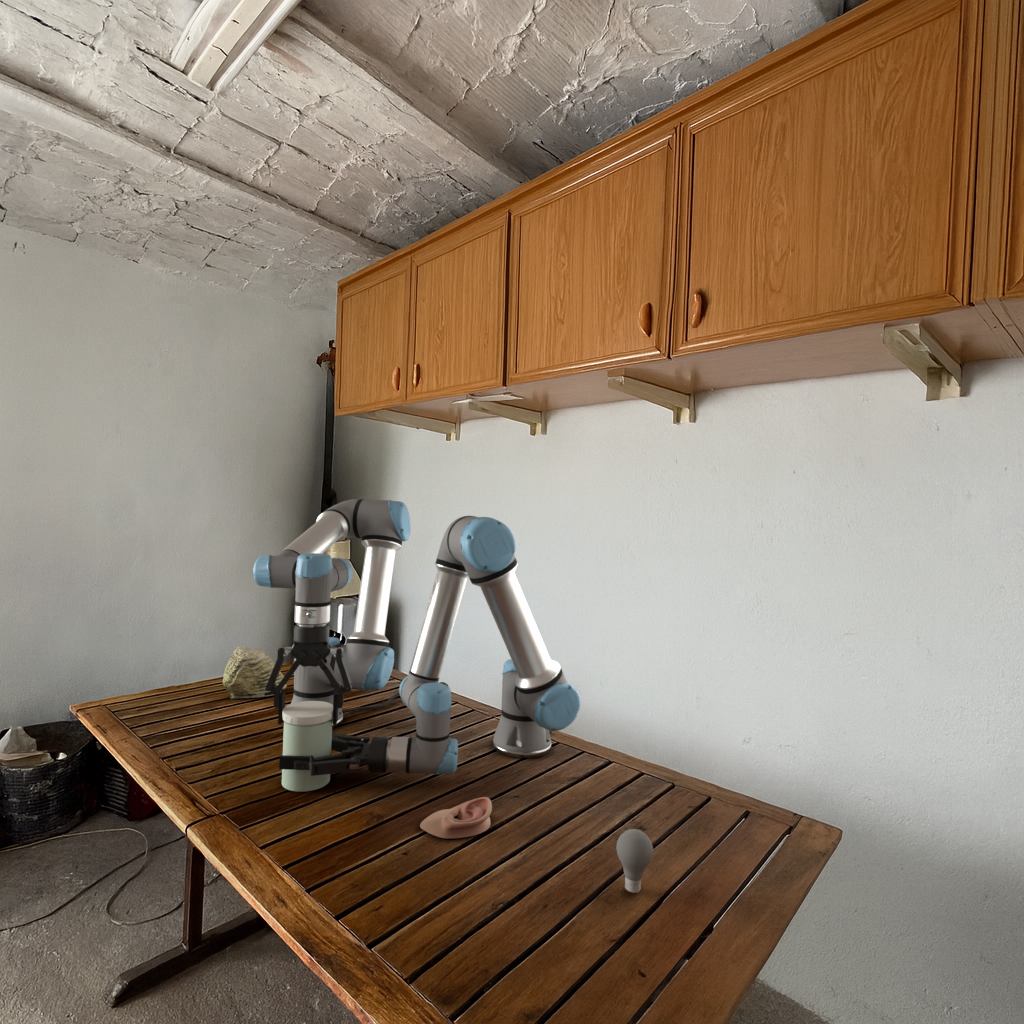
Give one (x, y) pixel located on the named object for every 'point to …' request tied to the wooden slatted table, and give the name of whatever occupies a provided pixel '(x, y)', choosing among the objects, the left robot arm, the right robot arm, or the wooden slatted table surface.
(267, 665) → the fossil
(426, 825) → the anatomical model
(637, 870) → the light bulb
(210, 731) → the wooden slatted table surface
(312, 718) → the lid
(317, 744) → the jar
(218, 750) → the wooden slatted table surface
